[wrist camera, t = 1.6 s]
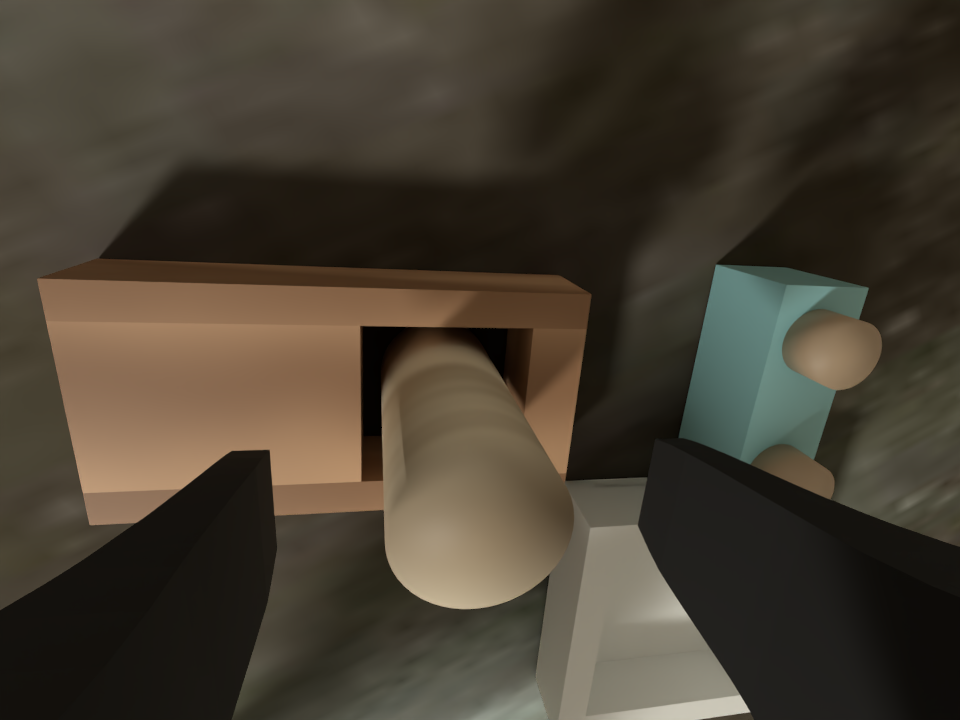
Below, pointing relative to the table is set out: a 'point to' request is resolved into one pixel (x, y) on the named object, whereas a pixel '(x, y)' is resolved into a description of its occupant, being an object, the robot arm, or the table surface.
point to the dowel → (464, 476)
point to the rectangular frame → (275, 370)
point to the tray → (622, 624)
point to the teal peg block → (776, 367)
